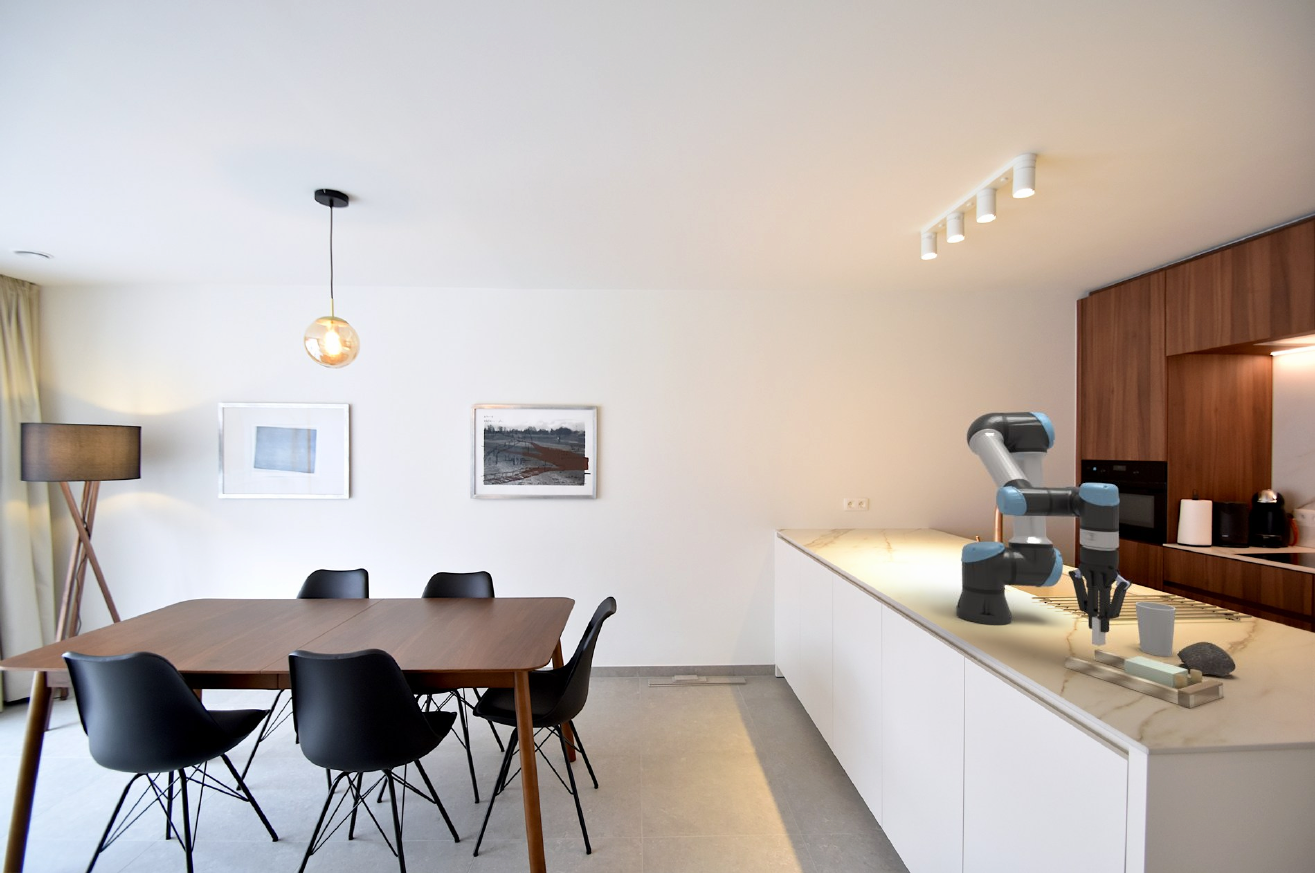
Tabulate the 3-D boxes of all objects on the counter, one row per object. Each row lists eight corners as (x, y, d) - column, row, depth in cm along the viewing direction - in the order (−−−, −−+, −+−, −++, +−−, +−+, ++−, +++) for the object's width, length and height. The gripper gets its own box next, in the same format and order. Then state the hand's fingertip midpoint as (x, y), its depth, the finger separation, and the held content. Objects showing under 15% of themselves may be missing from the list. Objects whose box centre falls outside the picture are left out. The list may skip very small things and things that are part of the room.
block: (1124, 681, 131) (1124, 659, 131) (1139, 677, 133) (1139, 655, 133) (1173, 697, 123) (1172, 673, 123) (1188, 692, 125) (1187, 669, 125)
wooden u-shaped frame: (1065, 667, 139) (1065, 646, 139) (1098, 659, 144) (1098, 639, 144) (1190, 708, 117) (1189, 683, 117) (1223, 696, 122) (1222, 673, 123)
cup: (1184, 658, 145) (1183, 610, 145) (1148, 656, 146) (1147, 609, 147) (1163, 647, 153) (1162, 602, 153) (1129, 645, 154) (1128, 600, 155)
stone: (1172, 681, 140) (1183, 662, 134) (1172, 650, 145) (1183, 630, 138) (1227, 697, 135) (1242, 678, 128) (1226, 664, 139) (1239, 644, 133)
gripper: (1061, 543, 144) (1060, 637, 144) (1120, 553, 132) (1120, 656, 132) (1079, 541, 147) (1079, 633, 147) (1139, 550, 135) (1139, 650, 135)
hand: (1098, 643), depth 140 cm, fingers closed
